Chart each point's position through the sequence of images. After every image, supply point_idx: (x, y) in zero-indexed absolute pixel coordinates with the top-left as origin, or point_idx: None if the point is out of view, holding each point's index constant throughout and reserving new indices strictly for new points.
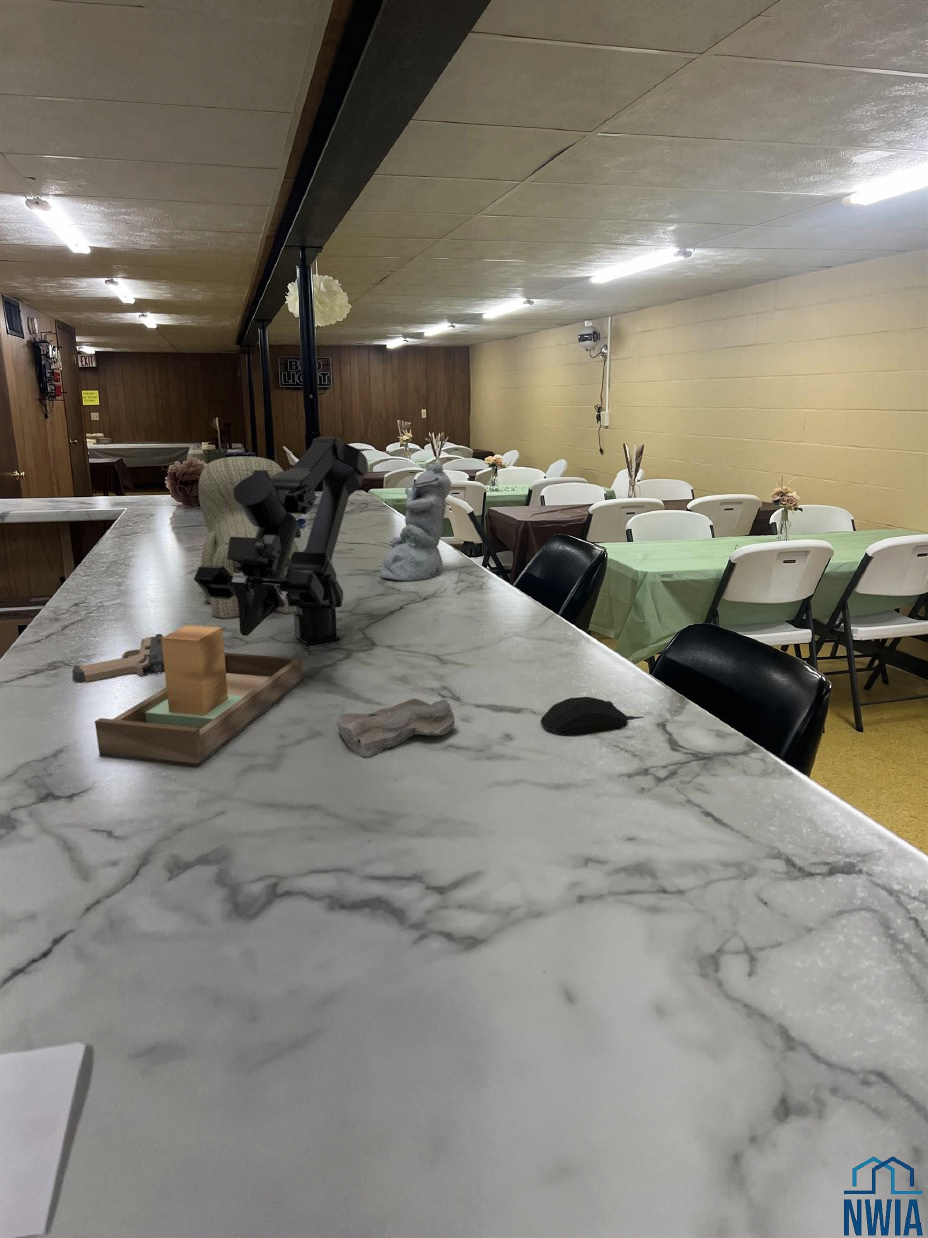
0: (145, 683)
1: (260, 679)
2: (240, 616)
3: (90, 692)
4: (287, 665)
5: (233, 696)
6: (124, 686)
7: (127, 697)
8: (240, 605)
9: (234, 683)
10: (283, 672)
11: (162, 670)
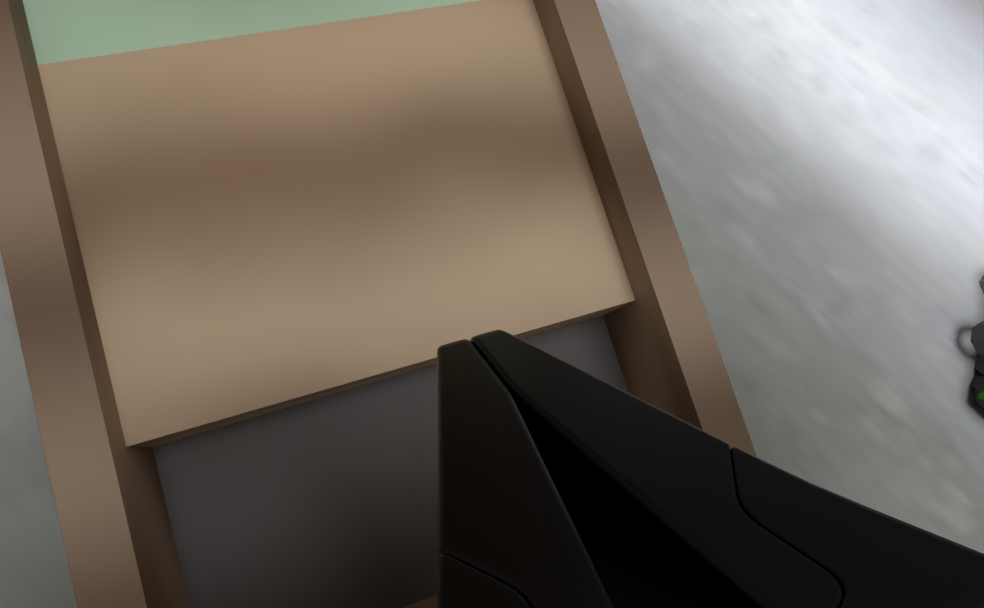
0: (898, 214)
1: (230, 344)
2: (629, 410)
3: (968, 38)
4: (129, 594)
5: (172, 27)
6: (932, 145)
7: (808, 53)
8: (790, 506)
9: (339, 206)
10: (46, 439)
11: (982, 369)
